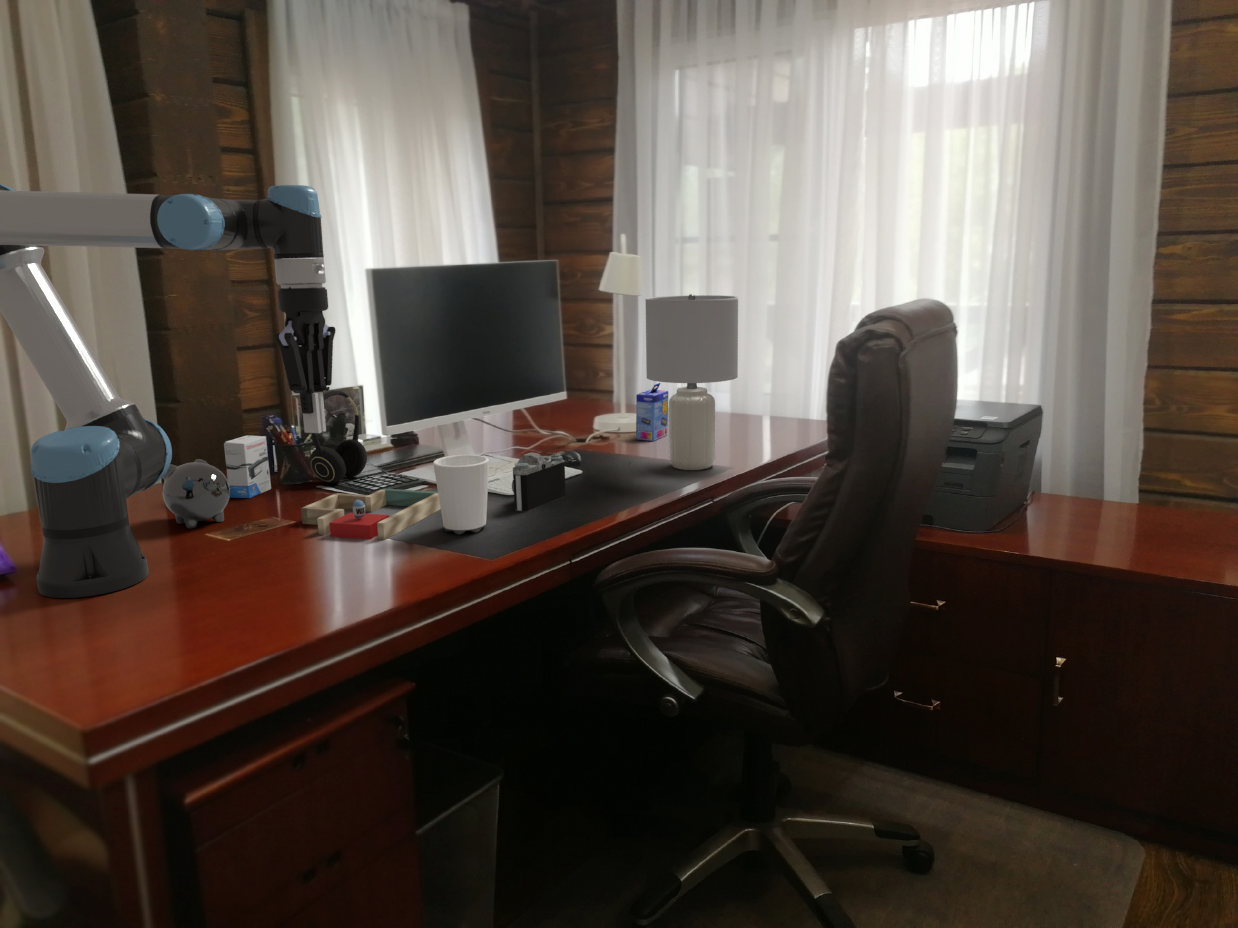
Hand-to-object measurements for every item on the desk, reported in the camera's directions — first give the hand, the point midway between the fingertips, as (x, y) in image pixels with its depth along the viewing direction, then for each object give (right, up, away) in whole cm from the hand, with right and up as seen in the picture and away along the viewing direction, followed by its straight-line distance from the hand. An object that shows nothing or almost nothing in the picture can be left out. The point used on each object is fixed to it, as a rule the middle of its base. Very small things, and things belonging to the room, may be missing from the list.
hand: (315, 431), depth 156 cm
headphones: (-12, -9, +54) cm, 56 cm away
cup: (+22, -17, +15) cm, 32 cm away
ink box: (-28, -12, +44) cm, 53 cm away
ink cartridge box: (+59, +1, +95) cm, 112 cm away
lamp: (+67, -6, +61) cm, 90 cm away
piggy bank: (-29, -17, +23) cm, 41 cm away
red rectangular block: (+4, -18, +14) cm, 23 cm away
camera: (+33, -13, +33) cm, 49 cm away
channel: (+3, -16, +23) cm, 28 cm away
